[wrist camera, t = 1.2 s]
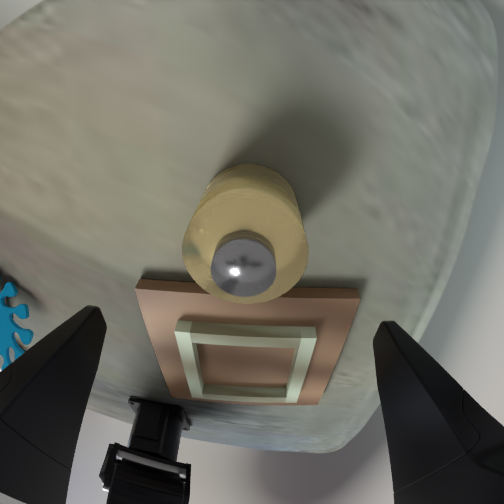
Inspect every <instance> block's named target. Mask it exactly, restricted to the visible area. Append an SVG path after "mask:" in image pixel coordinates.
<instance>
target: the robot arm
mask: <svg viewBox="0 0 504 504" xmlns="http://www.w3.org/2000/svg"><path fill="white" fill-rule="evenodd" d="M106 329H107V326H106V322H105V320H104V317H103V315H102V312H101V310H100V308H99V307H97V306H91V305H88V306H86V307H84V308H83V309H82V310H80V311H79V312H77V313H76V314H75V315H73V316H72V317H71V318H69V319H68V320H67V321H65V322H64V323H62V324H61V325H60V326H58V327H57V328H56V329H54V330H53V331H52V332H50V333H49V334H48V335H46V336H45V337H44V338H43V339H41V340H40V341H39V342H37V343H36V344H35V345H33V346H32V347H31V348H30V349H28V350H27V351H26V352H24V353H23V354H22V355H21V356H19V357H18V358H17V359H16V360H14V362H12V363H11V364H9V365H8V366H7V367H6V368H4V369H3V370H2V371H1V372H0V504H66V498H67V491H68V485H69V479H70V474H71V468H72V462H73V458H74V453H75V449H76V444H77V440H78V436H79V432H80V428H81V424H82V420H83V416H84V413H85V409H86V405H87V402H88V398H89V395H90V392H91V388H92V385H93V382H94V379H95V376H96V372H97V369H98V365H99V360H100V356H101V351H102V347H103V343H104V338H105V334H106ZM373 349H374V357H375V367H376V377H377V386H378V391H379V396H380V401H381V406H382V412H383V417H384V423H385V430H386V436H387V442H388V449H389V455H390V464H391V472H392V481H393V491H394V504H504V426H503V425H502V424H500V423H499V422H498V421H497V420H496V419H495V418H493V417H492V416H491V415H490V414H489V413H488V412H487V411H486V410H485V409H484V408H482V407H481V406H480V405H479V404H478V403H477V402H476V401H475V400H474V399H473V398H472V397H471V396H470V395H469V394H468V393H467V392H466V391H465V390H463V388H462V387H461V386H460V385H459V384H458V382H457V381H456V380H455V379H454V378H453V377H451V375H450V374H449V373H447V371H445V369H444V368H443V367H442V366H441V365H440V364H439V363H438V362H437V361H436V360H435V359H433V357H432V356H430V355H429V354H428V353H427V352H426V351H425V350H424V349H423V348H422V347H421V346H420V345H419V344H418V343H417V342H416V341H415V340H414V339H413V338H412V337H411V336H410V335H409V334H408V333H407V332H406V331H404V330H403V329H402V328H401V327H400V326H399V325H398V324H397V323H396V322H395V321H382V322H381V324H380V325H379V328H378V330H377V332H376V334H375V336H374V339H373ZM128 403H129V405H130V406H131V407H132V409H133V410H134V412H135V413H136V415H135V419H134V423H133V426H132V430H131V434H130V438H129V442H128V446H127V447H125V446H122V445H120V444H119V443H115V444H109V447H108V450H107V454H106V457H105V460H104V463H103V465H102V468H101V471H100V474H99V477H100V478H101V480H102V485H103V491H106V492H109V493H108V498H107V504H188V503H189V497H190V476H191V464H187V463H186V464H184V463H180V462H176V461H177V454H178V449H179V443H180V437H181V432H182V430H190V426H189V423H188V421H187V418H186V416H185V413H184V411H183V409H182V408H181V407H177V406H171V405H164V404H158V403H152V402H147V401H142V400H136V399H132V398H129V400H128ZM118 457H122V460H119V459H118Z"/></svg>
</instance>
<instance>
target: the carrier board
mask: <svg viewBox="0 0 504 504" xmlns="http://www.w3.org/2000/svg"><path fill="white" fill-rule="evenodd" d="M135 291H136V294H137V298H138V301H139V305H140V308H141V311H142V315H143V318H144V321H145V324H146V328H147V331H148V334H149V337H150V340H151V343H152V346H153V349H154V351H155V354H156V357H157V360H158V363H159V365H160V368H161V371H162V373H163V376H164V379H165V381H166V384H167V386H168V389H169V391H170V394H171V396H172V397H173V398H180V399H188V400H197V401H206V402H217V403H230V404H247V405H318V403H319V401H320V398H321V396H322V394H323V392H324V390H325V388H326V385H327V383H328V381H329V379H330V376H331V374H332V372H333V369H334V367H335V365H336V362H337V360H338V358H339V355H340V353H341V350H342V348H343V345H344V343H345V340H346V338H347V335H348V332H349V330H350V327H351V324H352V322H353V319H354V316H355V313H356V311H357V308H358V305H359V302H360V299H361V298H360V296H359V293H358V290H357V288H310V287H292V288H291V289H290V290H289V291H287V292H286V293H284V294H283V295H281V296H279V297H277V298H275V299H272V300H269V301H266V302H261V303H253V304H242V303H234V302H229V301H226V300H222V299H220V298H218V297H215V296H213V295H212V294H210V293H208V292H207V291H205V290H204V289H203V288H201V287H200V286H199V285H198V284H197V283H195V282H179V281H164V280H150V279H140V280H139V282H138V283H137V285H136V287H135Z"/></svg>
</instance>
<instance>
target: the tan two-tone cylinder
mask: <svg viewBox="0 0 504 504" xmlns="http://www.w3.org/2000/svg"><path fill="white" fill-rule="evenodd" d="M182 253H183V259H184V263H185V266H186V268H187V270H188V272H189V274H190V275H191V277H192V278H193V279H194V281H195V282H196V283H197V284H198V285H199V286H200V287H201V288H203V289H204V290H205V291H207V292H208V293H210V294H212V295H213V296H215V297H218V298H220V299H222V300H226V301H229V302H234V303H242V304H253V303H261V302H266V301H269V300H272V299H275V298H277V297H279V296H281V295H283V294H284V293H286V292H287V291H289V290H290V289H291V288H292V287H293V286H294V285H295V284H296V283H297V282H298V281H299V279H300V278H301V276H302V275H303V273H304V271H305V268H306V266H307V262H308V253H309V252H308V243H307V239H306V235H305V231H304V227H303V223H302V219H301V215H300V212H299V208H298V204H297V200H296V197H295V194H294V191H293V189H292V188H291V186H290V184H289V183H288V182H287V181H286V179H285V178H283V177H282V176H281V175H280V174H279V173H277V172H276V171H274V170H272V169H270V168H267V167H265V166H261V165H255V164H242V165H237V166H233V167H230V168H228V169H226V170H224V171H222V172H221V173H219V174H218V175H217V176H216V177H215V178H214V179H213V180H212V181H211V182H210V183H209V185H208V186H207V188H206V190H205V192H204V194H203V196H202V198H201V201H200V203H199V205H198V207H197V209H196V211H195V213H194V215H193V217H192V219H191V221H190V224H189V226H188V228H187V230H186V232H185V235H184V239H183V245H182Z"/></svg>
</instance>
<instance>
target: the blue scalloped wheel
mask: <svg viewBox="0 0 504 504" xmlns="http://www.w3.org/2000/svg"><path fill="white" fill-rule="evenodd" d="M0 281H1V277H0ZM17 293H18V291H17V288H16V286H15V285H14V284H13V282H8V283H6V284H5V286H4V289H3V291H2V292H1V293H0V355H1V356H2V357H3V359H4V363H3V365H2V370H3V369H4V368H6V367H7V366H8V365H9V364H11V363H12V362H11V360H10V356H9V347H11V348H13V350H14V352H15V360H16V359H17V358H18V357H19V356H21V355H22V354H23V353H24V352H25V351H23V350H22V349H21V348H20V347H19V345H18V344H17V342H16V339H15V337H14V333H15V332H17V333H18V334H19V336H20V339H21V341H22V342H23V343H24V344H26V345H28V344H29V343H30V342H31V341H32V338H33V332H32V331H31V330H30V329H23V328H21V327H20V326H18V325H17V324H16V323H15V322H14V320H13V318H12V315H13V313H15V314H16V315H17V316H18V317H19V318H21V319H25V318H28V317H29V309H28V305H27V304H20V305H18V306H17V307H15V308H13V307H9V306H7V305H6V304H5V301H4V300H5V297H6V296H8V297H13V296H16V295H17Z"/></svg>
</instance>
